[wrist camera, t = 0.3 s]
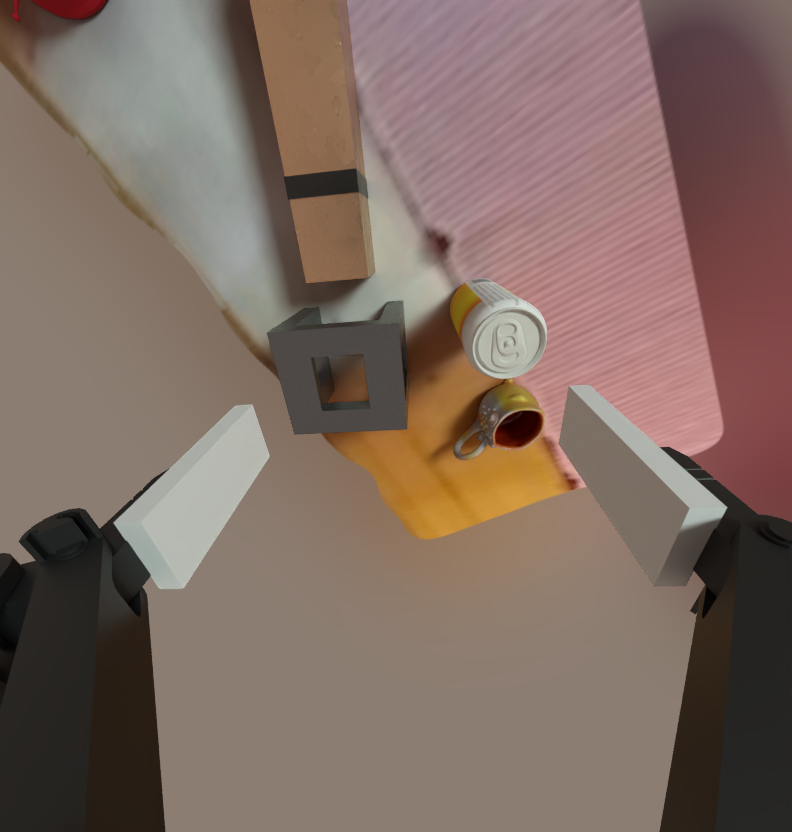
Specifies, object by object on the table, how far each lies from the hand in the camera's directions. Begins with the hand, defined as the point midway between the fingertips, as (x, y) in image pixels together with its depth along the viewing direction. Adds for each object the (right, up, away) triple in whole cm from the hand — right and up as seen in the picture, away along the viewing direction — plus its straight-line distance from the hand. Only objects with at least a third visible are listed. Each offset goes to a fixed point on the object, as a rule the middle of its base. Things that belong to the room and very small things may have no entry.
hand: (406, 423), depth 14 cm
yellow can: (+9, +13, +23) cm, 28 cm away
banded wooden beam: (-7, +26, +17) cm, 32 cm away
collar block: (-5, +8, +26) cm, 28 cm away
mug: (+12, +1, +30) cm, 32 cm away
